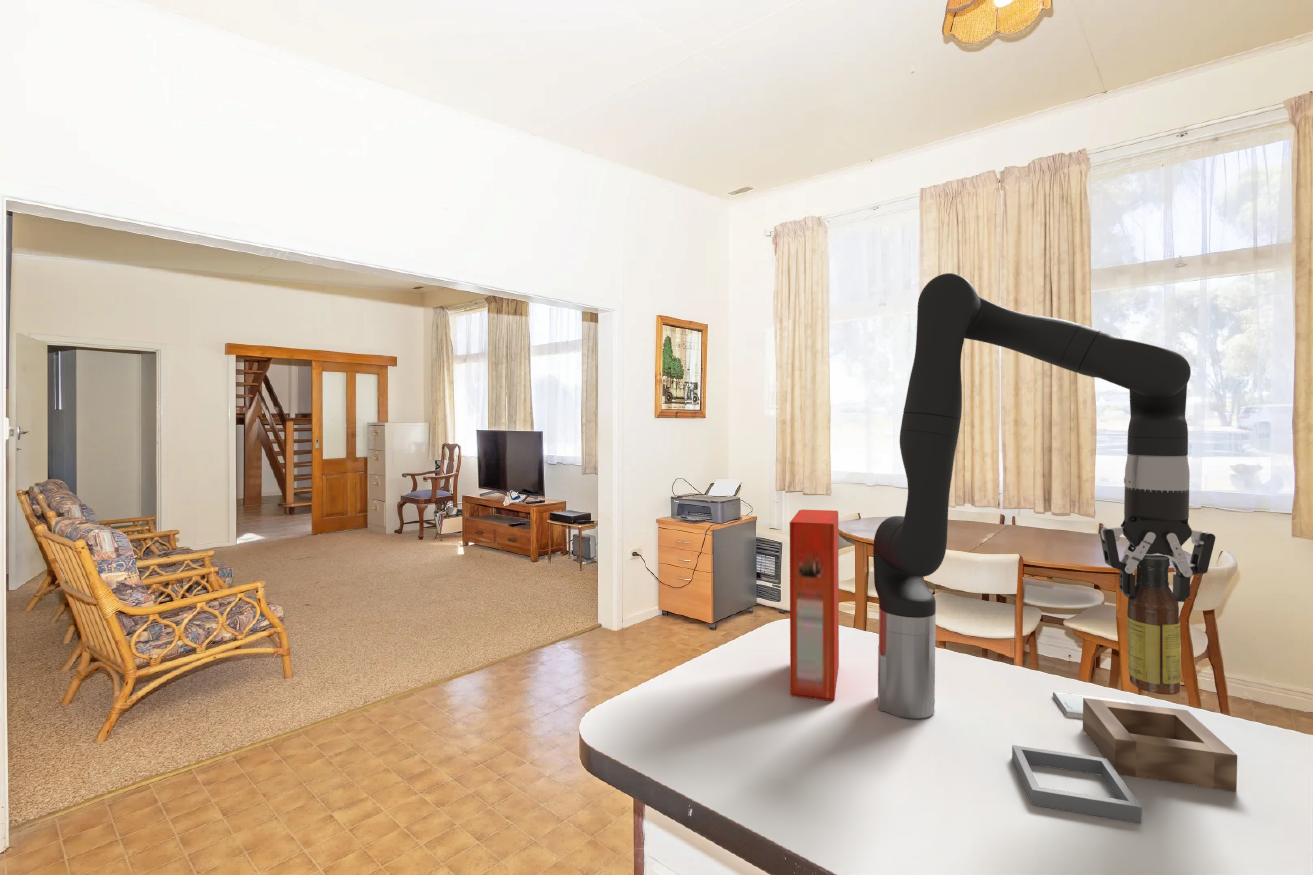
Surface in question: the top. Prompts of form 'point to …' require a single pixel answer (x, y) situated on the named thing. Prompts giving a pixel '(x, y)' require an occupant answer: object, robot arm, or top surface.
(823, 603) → the file binder
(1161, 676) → the sauce bottle
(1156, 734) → the holder
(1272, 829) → the top surface
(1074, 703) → the hard drive
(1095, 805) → the square frame
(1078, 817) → the top surface
